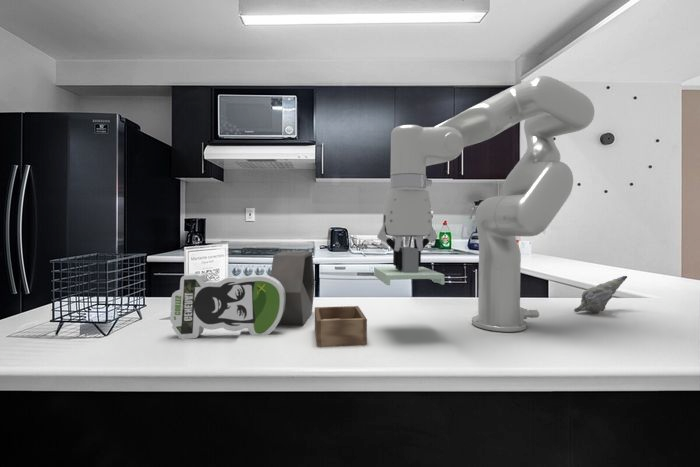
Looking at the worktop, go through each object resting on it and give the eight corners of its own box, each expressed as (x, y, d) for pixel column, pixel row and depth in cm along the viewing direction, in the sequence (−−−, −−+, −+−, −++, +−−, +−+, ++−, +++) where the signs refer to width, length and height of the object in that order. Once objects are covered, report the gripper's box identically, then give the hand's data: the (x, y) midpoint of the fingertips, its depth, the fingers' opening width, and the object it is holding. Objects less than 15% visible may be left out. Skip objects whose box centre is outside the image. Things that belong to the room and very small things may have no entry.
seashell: (563, 309, 112) (564, 274, 112) (622, 309, 112) (622, 274, 112) (584, 318, 102) (585, 280, 102) (648, 318, 102) (649, 280, 102)
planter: (297, 315, 86) (307, 235, 96) (263, 315, 86) (276, 235, 97) (309, 337, 100) (316, 266, 111) (280, 337, 101) (290, 265, 111)
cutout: (165, 276, 84) (281, 267, 84) (171, 275, 87) (283, 266, 87) (172, 345, 85) (286, 336, 85) (178, 341, 87) (288, 332, 88)
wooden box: (358, 331, 90) (358, 306, 90) (366, 348, 78) (366, 319, 78) (314, 333, 89) (314, 307, 88) (317, 350, 77) (316, 320, 76)
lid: (423, 275, 92) (423, 245, 92) (444, 284, 78) (444, 249, 78) (374, 275, 91) (374, 245, 90) (387, 285, 77) (387, 250, 77)
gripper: (438, 186, 89) (436, 266, 89) (367, 185, 87) (366, 267, 87) (450, 183, 81) (449, 271, 82) (373, 182, 79) (373, 271, 80)
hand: (406, 268), depth 85 cm, fingers closed on lid, 3 cm apart
